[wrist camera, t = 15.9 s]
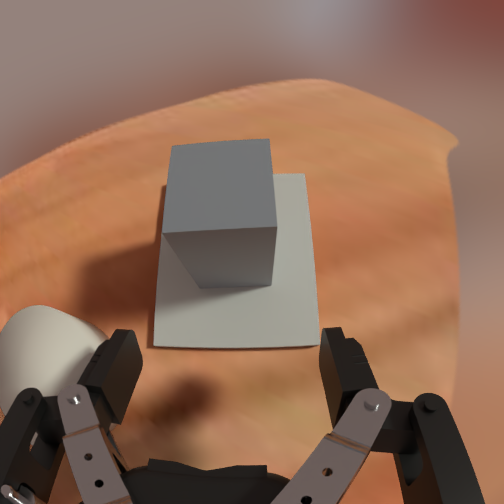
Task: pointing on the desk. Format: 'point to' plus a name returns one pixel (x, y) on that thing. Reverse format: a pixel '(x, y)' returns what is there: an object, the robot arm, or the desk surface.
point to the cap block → (222, 212)
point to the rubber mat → (247, 291)
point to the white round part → (44, 352)
